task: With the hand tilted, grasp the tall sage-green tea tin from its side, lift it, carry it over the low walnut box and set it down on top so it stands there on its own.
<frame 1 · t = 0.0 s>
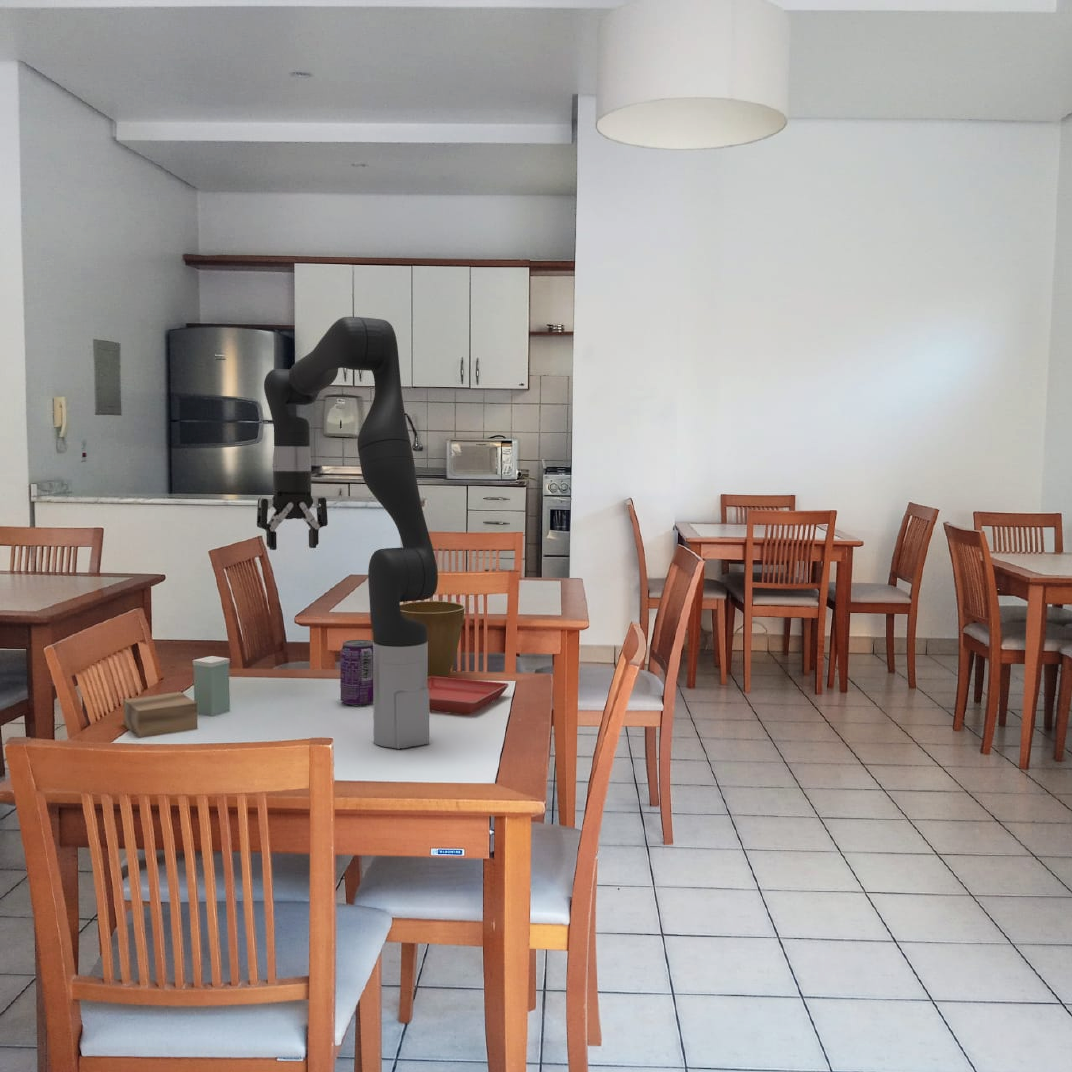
hand: (293, 548, 210), 29 cm above the table, tool pointing down, fingers open, 8 cm apart
walnut box: (160, 728, 184), on the table
beverage can: (358, 703, 203), on the table
plant pot: (430, 680, 224), on the table
plant saucer: (450, 705, 203), on the table
tea tin: (212, 712, 195), on the table
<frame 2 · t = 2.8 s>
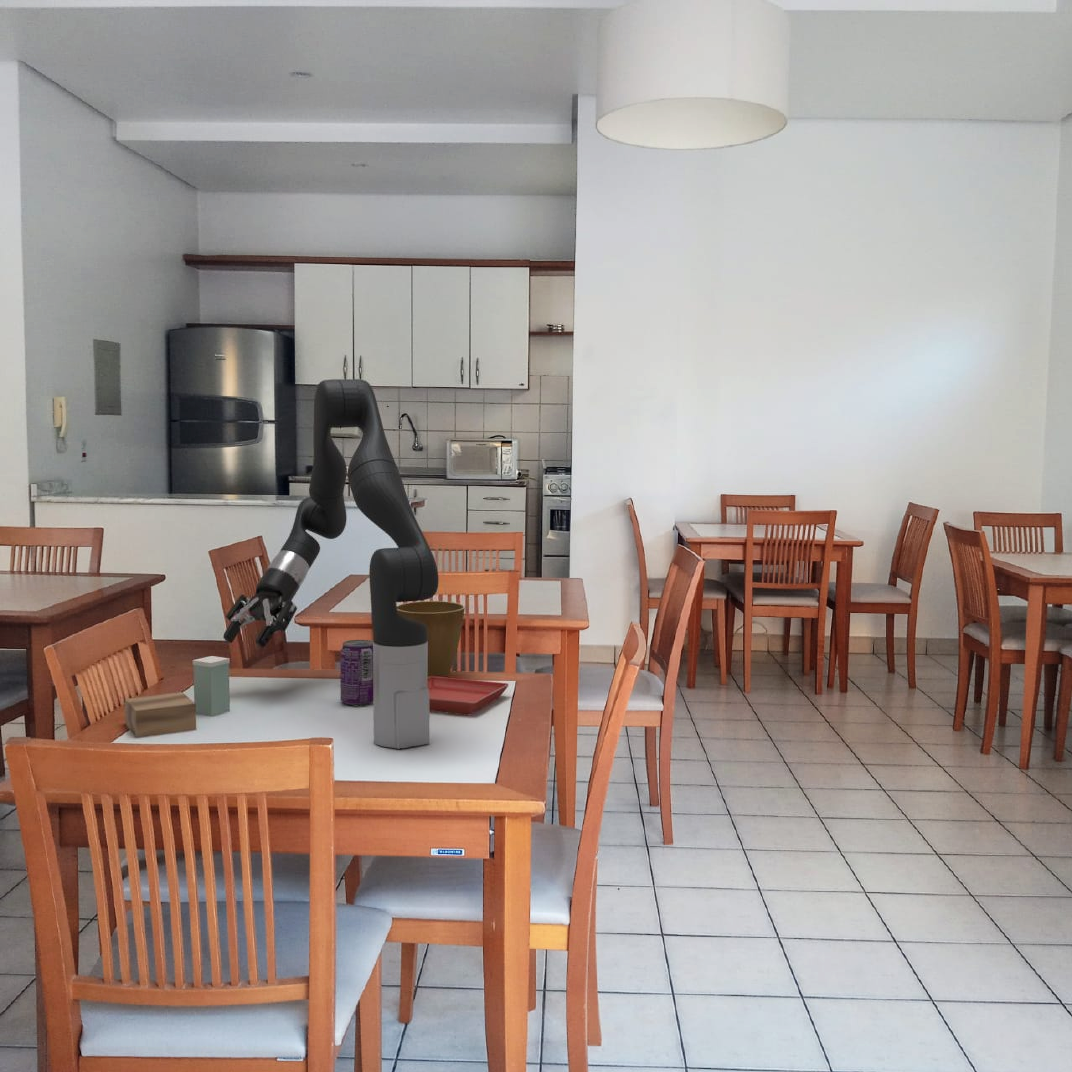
hand: (242, 642, 201), 12 cm above the table, tool tilted 45°, fingers open, 8 cm apart
nothing on the table moved.
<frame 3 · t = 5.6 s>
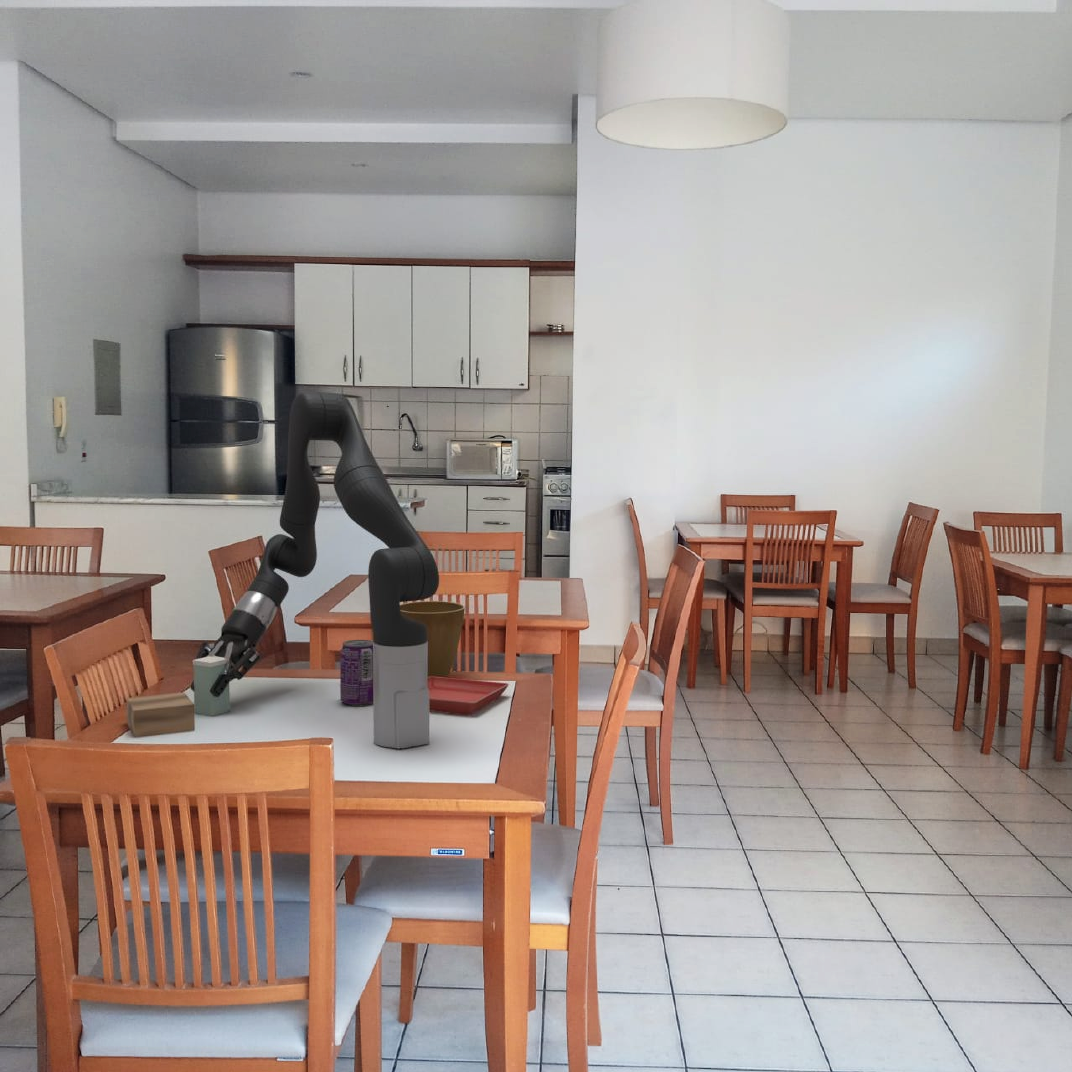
hand: (204, 692, 193), 4 cm above the table, tool tilted 45°, fingers closed on tea tin, 4 cm apart
tea tin: (212, 711, 195), on the table, touching gripper
everything else where it was.
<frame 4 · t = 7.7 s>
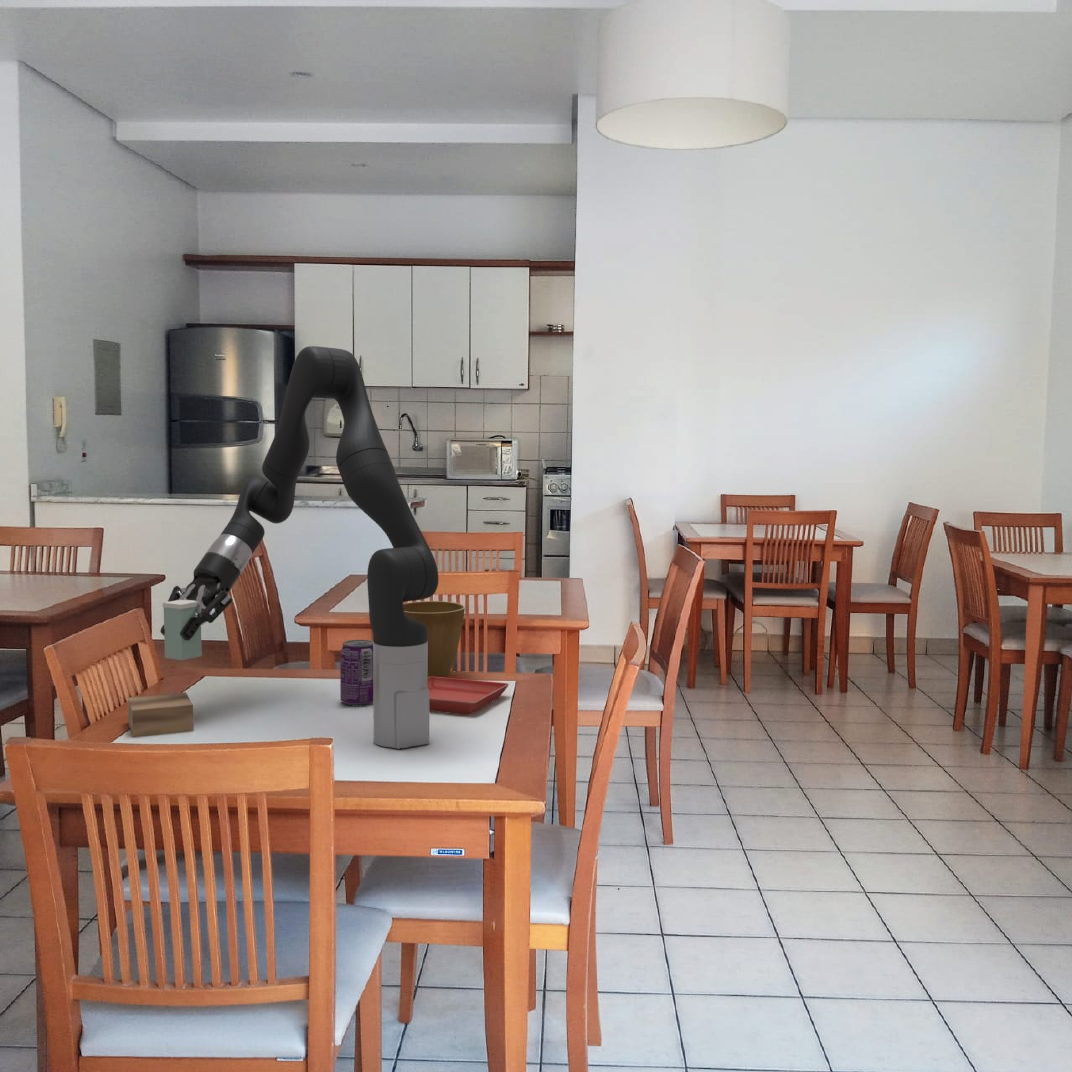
hand: (174, 636, 186), 16 cm above the table, tool tilted 45°, fingers closed on tea tin, 4 cm apart
tea tin: (183, 656, 188), point 12 cm above the table, touching gripper
everything else where it was.
when the fingers open (11 cm above the table, at t = 9.8 s): tea tin drops 2 cm, point 5 cm above the table.
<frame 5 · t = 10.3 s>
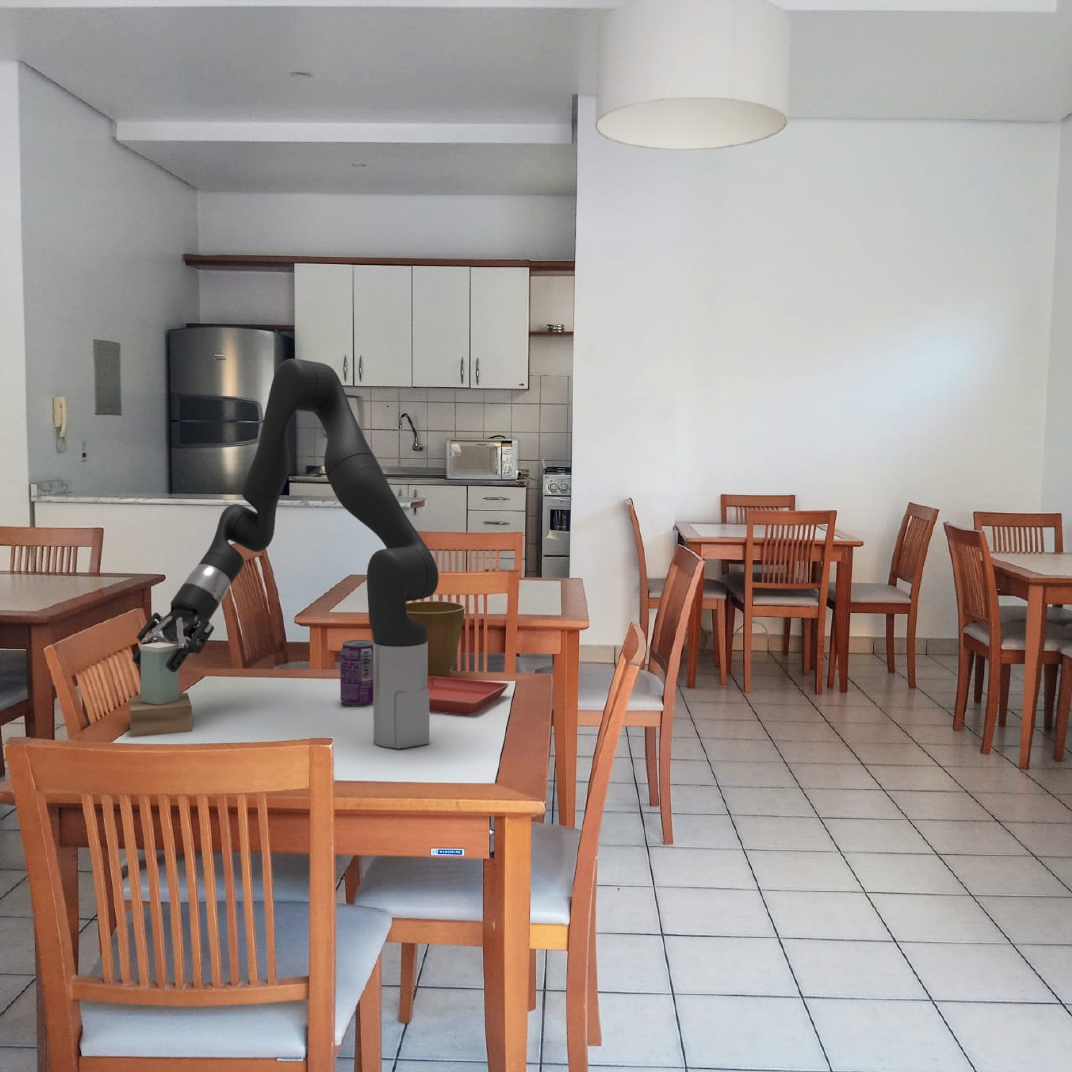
hand: (153, 666, 182), 11 cm above the table, tool tilted 45°, fingers open, 8 cm apart
tea tin: (159, 701, 184), point 5 cm above the table
everything else where it was.
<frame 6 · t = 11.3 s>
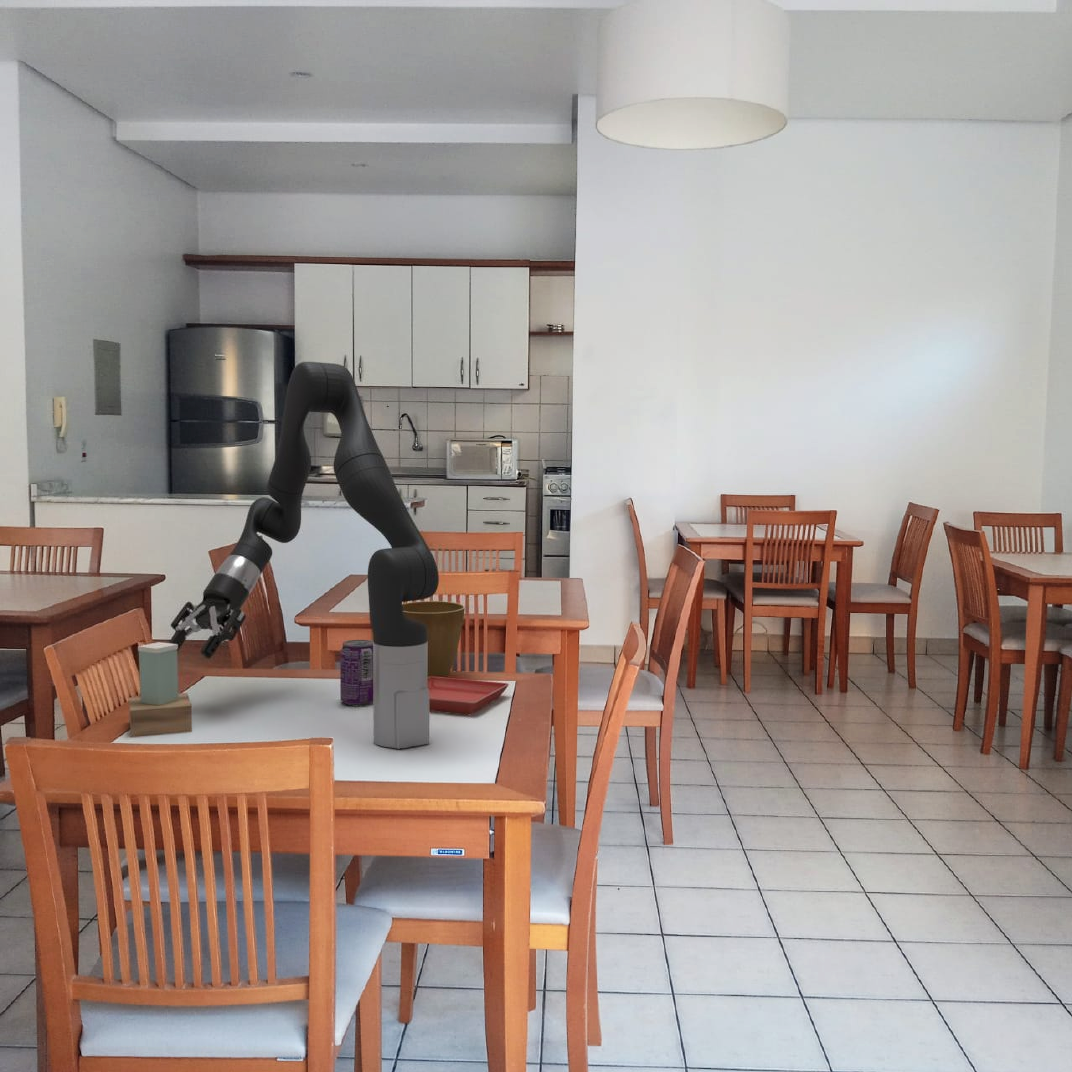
hand: (187, 653, 189), 12 cm above the table, tool tilted 45°, fingers open, 8 cm apart
walnut box: (160, 729, 184), on the table, touching tea tin
tea tin: (159, 701, 184), point 5 cm above the table, touching walnut box
everything else where it was.
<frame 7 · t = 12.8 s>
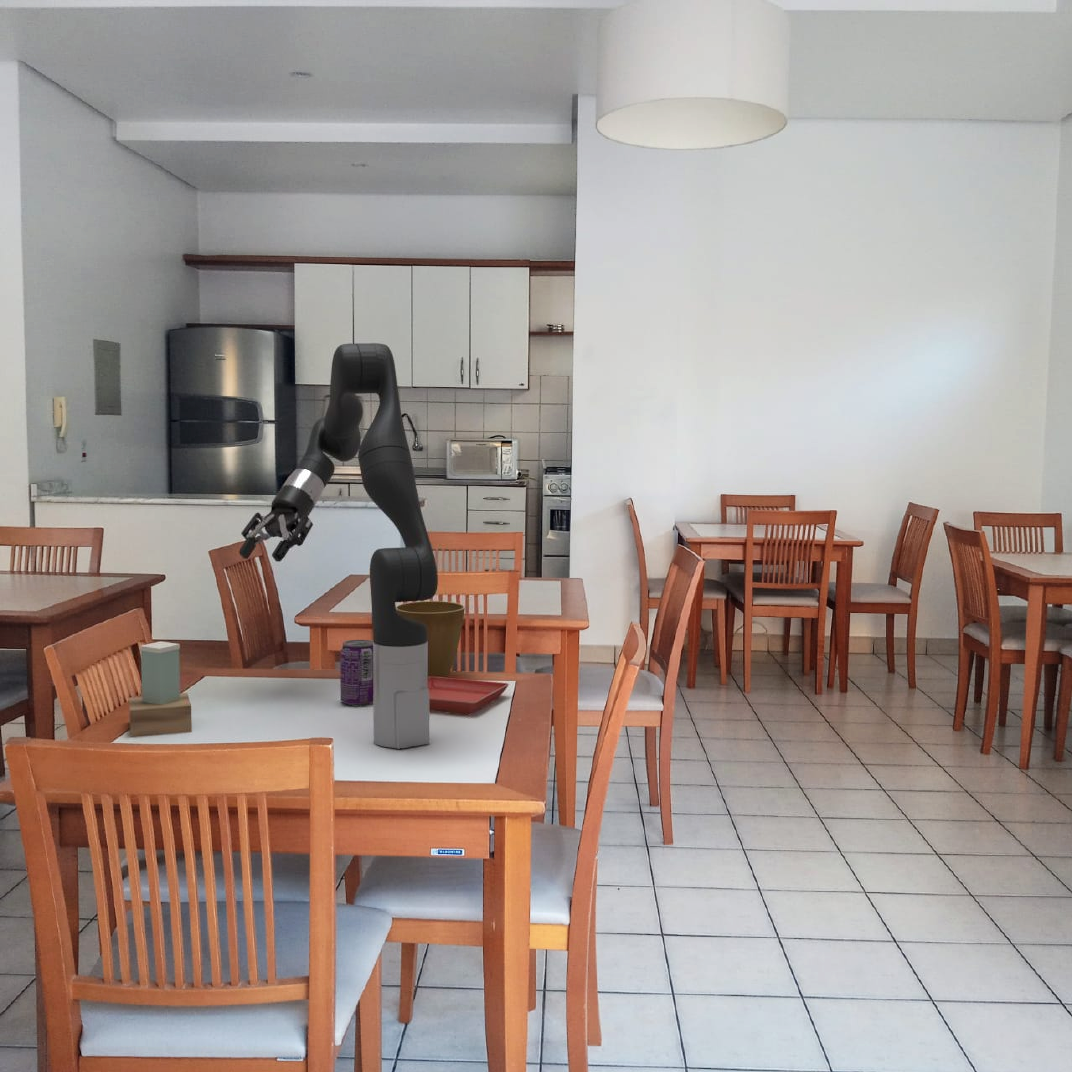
hand: (259, 557, 200), 28 cm above the table, tool tilted 45°, fingers open, 8 cm apart
walnut box: (160, 728, 184), on the table
tea tin: (161, 700, 184), point 5 cm above the table
everything else where it was.
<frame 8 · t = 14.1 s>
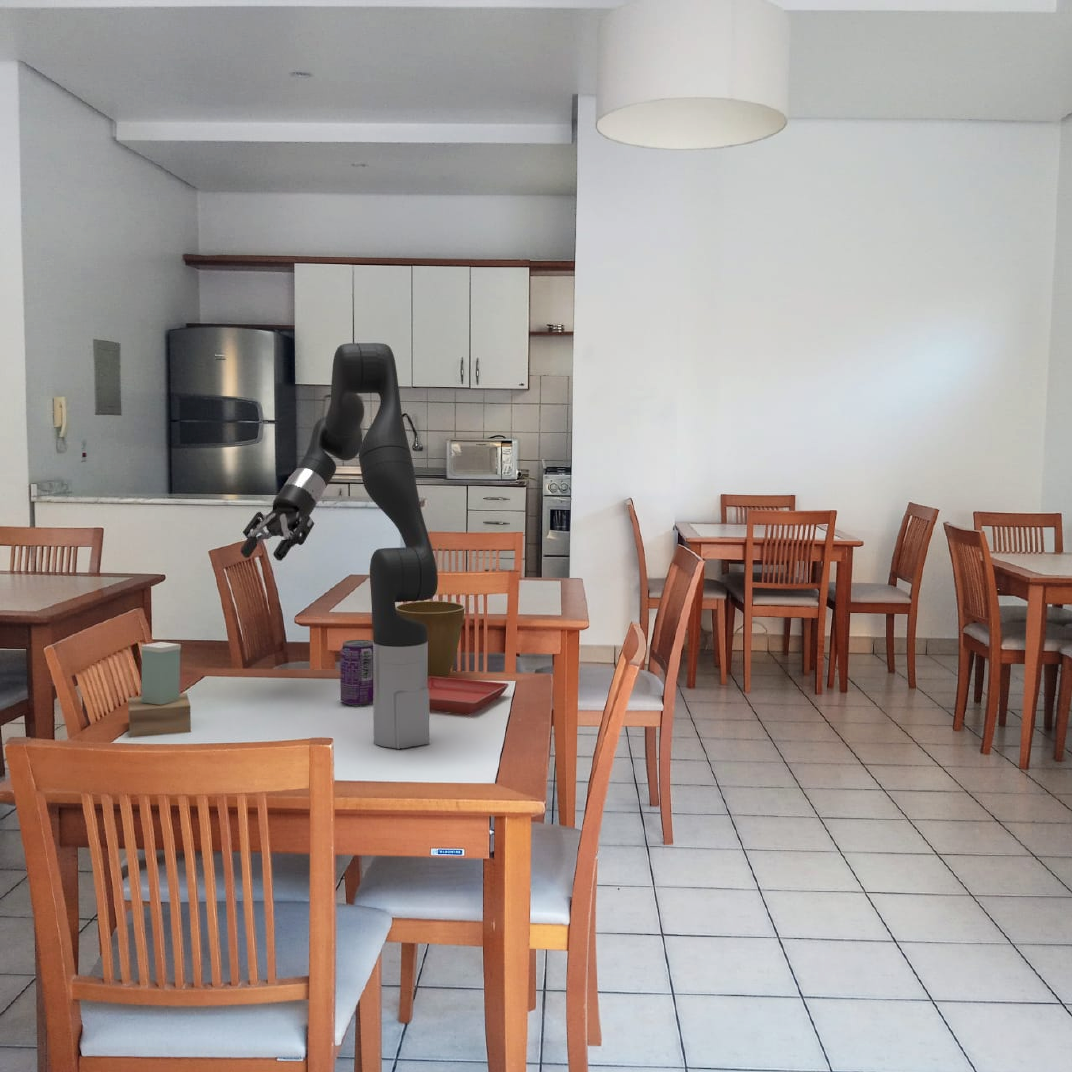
hand: (260, 556, 200), 29 cm above the table, tool tilted 45°, fingers open, 8 cm apart
nothing on the table moved.
at the end: tea tin inside the target area on the walnut box (0.4 cm from its centre), point 5.0 cm above the walnut box's base; tea tin tilted 1°; the gripper is holding nothing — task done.
